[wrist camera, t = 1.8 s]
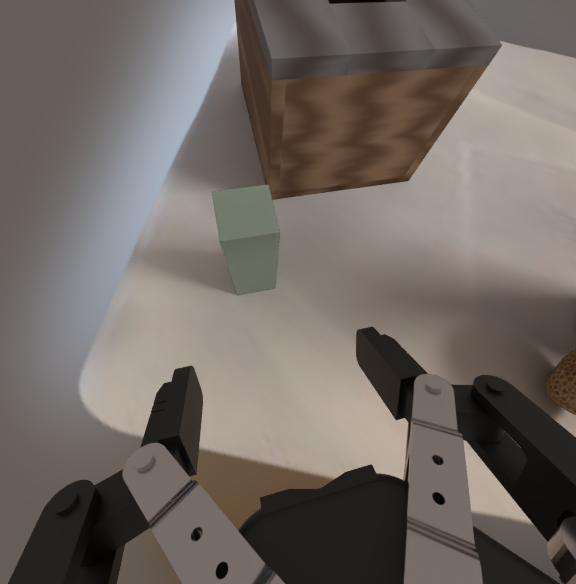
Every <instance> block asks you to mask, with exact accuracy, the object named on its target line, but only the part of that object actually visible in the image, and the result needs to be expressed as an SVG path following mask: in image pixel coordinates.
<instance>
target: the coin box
mask: <svg viewBox="0 0 576 584" xmlns="http://www.w3.org/2000/svg"><path fill="white" fill-rule="evenodd" d="M235 11H236V23H237V35H238V47H239V59H240V72H241V84H242V88H243V92H244V97H245V101H246V105H247V109H248V113H249V117H250V121H251V125H252V130H253V134H254V138H255V142H256V146H257V150H258V154H259V158H260V162H261V167H262V171H263V175H264V179H265V183H266V185H267V184H268V185H269V189H270V193H271V197H272V199H279V198H287V197H294V196H301V195H309V194H316V193H323V192H331V191H338V190H345V189H353V188H360V187H367V186H374V185H382V184H389V183H396V182H404V181H409V179H410V178H411V176H412V175H413V173H414V172H415V171H416V169H417V168H418V166H419V165H420V163H421V162H422V160H423V159H424V158H425V156H426V155H427V153H428V152H429V150H430V149H431V147H432V146H433V144H434V143H435V142H436V140H437V139H438V137H439V136H440V134H441V133H442V131H443V130H444V129H445V127H446V126H447V124H448V123H449V121H450V120H451V118H452V117H453V116H454V114H455V113H456V111H457V110H458V108H459V107H460V105H461V104H462V103H463V101H464V100H465V98H466V97H467V95H468V94H469V92H470V91H471V90H472V88H473V87H474V85H475V84H476V82H477V81H478V79H479V78H480V77H481V75H482V74H483V72H484V71H485V69H486V68H487V66H488V65H489V64H490V62H491V61H492V59H493V58H494V56H495V55H496V53H497V52H498V50H499V49H500V48H501V46H502V44H501V43H500V41H499V40H498V39H497V37H496V36H495V35H494V33H493V32H492V30H491V29H490V28H489V26H488V25H487V24H486V22H485V21H484V20H483V18H482V17H481V15H480V14H479V13H478V11H477V10H476V9H475V7H474V6H473V4H472V3H471V2H470V1H469V0H235Z"/></svg>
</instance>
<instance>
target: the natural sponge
mask: <svg viewBox="0 0 576 584" xmlns="http://www.w3.org/2000/svg"><path fill="white" fill-rule="evenodd" d="M545 387H546V391H547V393H548V395H549V397H550V398H551V399H552V400H553V401H554V402H555V403H557V404H558V405H559V406H560V407H562V408H564V409H565V410H567V411H569V412H571V413H573V414H575V415H576V350H574V351H572V352H571V353H569V354H568V355H567V356H565V357H564V358H563V359H562V360H561V361H560V363H559V364H558V365H557V367H556V368H555V370H554V371H553V373H552V374H551V375H550V377H549V378H548V380H547V382H546V386H545Z"/></svg>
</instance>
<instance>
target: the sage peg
mask: <svg viewBox="0 0 576 584" xmlns="http://www.w3.org/2000/svg"><path fill="white" fill-rule="evenodd" d="M212 197H213V203H214V209H215V215H216V221H217V228H218V234H219V240H220V244H221V247H222V250H223V253H224V256H225V259H226V262H227V265H228V268H229V271H230V274H231V278H232V281H233V284H234V287H235V290H236V293H237V295H242V294H247V293H253V292H258V291H263V290H269V289H274V288H275V285H276V274H277V262H278V250H279V239H280V230H279V226H278V222H277V218H276V214H275V210H274V205H273V201H272V197H271V193H270V189H269V185H268V184H267V185H259V186H251V187H243V188H236V189H228V190H220V191H212Z"/></svg>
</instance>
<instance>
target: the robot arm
mask: <svg viewBox="0 0 576 584" xmlns="http://www.w3.org/2000/svg"><path fill="white" fill-rule="evenodd" d="M356 357H357V361H358V364H359V366H360V367H361V369H362V370H363V372H364V373H365V375H366V376H367V378H368V379H369V381H370V382H371V384H372V385H373V387H374V388H375V390H376V391H377V393H378V394H379V396H380V397H381V399H382V400H383V402H384V403H385V405H386V406H387V407H388V409H389V410H390V412H391V413H392V415H393V416H394V418H395V419H396V420H399V419H402V418H405V419H406V420H407V421H408V430H407V443H406V456H405V468H404V477H403V480H402V479H399V478H397V477H394V476H390V475H386V474H376V472H375V470H374V468H373V466H372V464H371V465H368V466H364V467H361V468H358V469H354V470H351V471H348V472H345V473H344V474H342V475H341V476H339V477H338V478H336V479H335V480H333V481H331V482H330V483H328V484H327V485H325V486H324V487H322V488H320V489H287V490H284V491H281V492H277V493H274V494H271V495H267V496H264V497H261V498H260V501H261V508H260V509H259V510H257V511H256V512H255V513H254V514H252V515H251V516H250V517H249V518H248V519H247V520H246V521H245V522H244V523H243V525H242V526H241V527H240V528H239V530H237V529H236V528H235V527H234V525H233V524H232V523H231V522H230V521H229V519H228V518H227V517H226V516H225V515H224V513H223V512H222V511H221V510H220V509H219V507H218V506H217V505H216V504H215V502H214V501H213V500H212V499H211V498H210V496H209V495H208V494H207V493H206V492H205V491H204V489H203V488H202V487H201V486H200V484H199V483H198V482H197V481H195V480H194V481H193V480H191V478H190V477H189V476H193V475H196V473H197V463H198V452H199V441H200V430H201V419H202V408H203V395H202V390H201V387H200V384H199V381H198V378H197V375H196V372H195V369H194V367H193V366H187V367H183V368H178V369H175V370H174V374H173V378H172V382H168V383H164V384H163V386H162V387H161V388H160V390H159V391H158V392H157V394H156V397H155V400H154V405H153V407H152V411H151V414H150V417H149V421H148V424H147V427H146V431H145V434H144V438H143V441H142V444H141V447H140V449H138V450H137V451H136V452H134V453H133V454H132V455H131V457H130V458H129V459H128V460H127V462H126V464H125V466H124V469H122V470H121V471H119V472H118V473H116V474H114V475H113V476H111V477H109V478H107V479H105V480H103V481H102V482H100V483H98V484H96V485H93V483H92V482H91V481H88V480H79V481H76V482H74V483H71V484H70V485H67V486H66V487H64V488H63V489H62V490H60V491H59V492H58V493H57V494H56V495H55V496H54V497H53V498H52V499H51V500H50V501H49V502H48V504H47V505H46V506H45V508H44V509H43V511H42V513H41V515H40V518H39V520H38V522H37V524H36V526H35V528H34V530H33V532H32V534H31V536H30V539H29V541H28V543H27V545H26V547H25V549H24V551H23V553H22V555H21V557H20V559H19V562H18V564H17V566H16V568H15V570H14V572H13V574H12V577H11V578H10V581H9V583H8V584H117V579H118V575H119V570H120V566H121V561H122V556H123V551H124V546H125V544H126V543H127V542H129V541H130V540H132V539H133V538H135V537H136V536H138V535H139V534H141V533H142V532H144V531H145V530H147V529H149V528H151V530H152V532H153V533H154V535H155V537H156V538H157V540H158V542H159V544H160V545H161V547H162V549H163V551H164V553H165V554H166V556H167V558H168V560H169V561H170V563H171V565H172V567H173V568H174V570H175V572H176V574H177V575H178V577H179V579H180V580H181V582H182V584H559V583H558V582H557V581H555V580H554V579H553V578H551V577H550V576H548V575H546V574H545V573H543V572H542V571H540V570H539V569H537V568H536V567H534V566H533V565H531V564H530V563H528V562H527V561H525V560H524V559H522V558H521V557H519V556H518V555H516V554H515V553H513V552H512V551H510V550H509V549H507V548H506V547H504V546H503V545H501V544H500V543H498V542H497V541H495V540H494V539H492V538H490V537H489V536H488V535H486V534H485V533H483V532H482V531H480V530H479V529H477V528H476V527H474V526H473V524H472V515H471V506H470V497H469V488H468V479H467V470H466V461H465V452H464V443H463V440H466V441H467V442H468V443H469V445H470V446H471V447H472V448H473V450H474V451H475V452H476V453H477V454H478V456H479V457H480V458H481V459H482V461H483V462H484V463H485V464H486V466H487V467H488V468H489V469H490V471H491V472H492V473H493V474H494V476H495V477H496V478H497V479H498V481H499V482H500V483H501V484H502V486H503V487H504V488H505V489H506V491H507V492H508V493H509V494H510V495H511V497H512V498H513V499H514V500H515V502H516V503H517V504H518V505H519V507H520V508H521V509H522V510H523V512H524V513H525V514H526V515H527V517H528V518H529V519H530V520H531V522H532V523H533V524H534V525H535V526H536V528H537V529H538V530H539V531H540V533H541V534H542V535H543V536H544V538H545V539H546V540H547V541H548V554H549V557H550V559H551V562H552V564H553V566H554V567H555V569H556V570H557V574H558V577H559V579H560V580H561V582H562V583H563V584H576V438H575V437H574V436H573V435H572V434H571V433H569V432H568V431H567V430H566V429H565V428H563V427H562V426H561V425H560V424H559V423H557V422H556V421H555V420H554V419H552V418H551V417H550V416H549V415H548V414H546V413H545V412H544V411H543V410H542V409H540V408H539V407H538V406H537V405H535V404H534V403H533V402H532V401H531V400H529V399H528V398H527V397H526V396H525V395H523V394H522V393H521V392H520V391H519V390H517V389H516V388H515V387H514V386H512V385H511V384H510V383H508V382H507V381H505V380H503V379H501V378H498V377H495V376H490V375H481V376H478V377H476V378H475V380H474V382H473V385H451V384H450V383H449V382H448V381H447V380H445V379H444V378H442V377H440V376H437V375H433V374H428V373H427V372H426V371H425V370H424V369H423V368H422V367H421V366H420V365H419V364H418V363H417V362H416V361H415V360H414V359H413V358H412V357H411V356H410V355H409V354H408V353H407V352H406V351H405V350H404V349H403V348H401V346H400V345H399V344H398V342H397V341H396V340H395V339H393V338H391V337H389V336H387V335H385V334H384V335H380V334H379V333H378V332H377V331H376V329H375V328H374V327H368V328H363V329H359V330H357V333H356ZM512 439H513V440H514V441H515V442H516V443H517V444H518V445H519V446H520V447H521V448H522V449H521V448H520V447H519V446H518V445H517V444H516V443H515V442H514V441H513V440H512Z"/></svg>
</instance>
